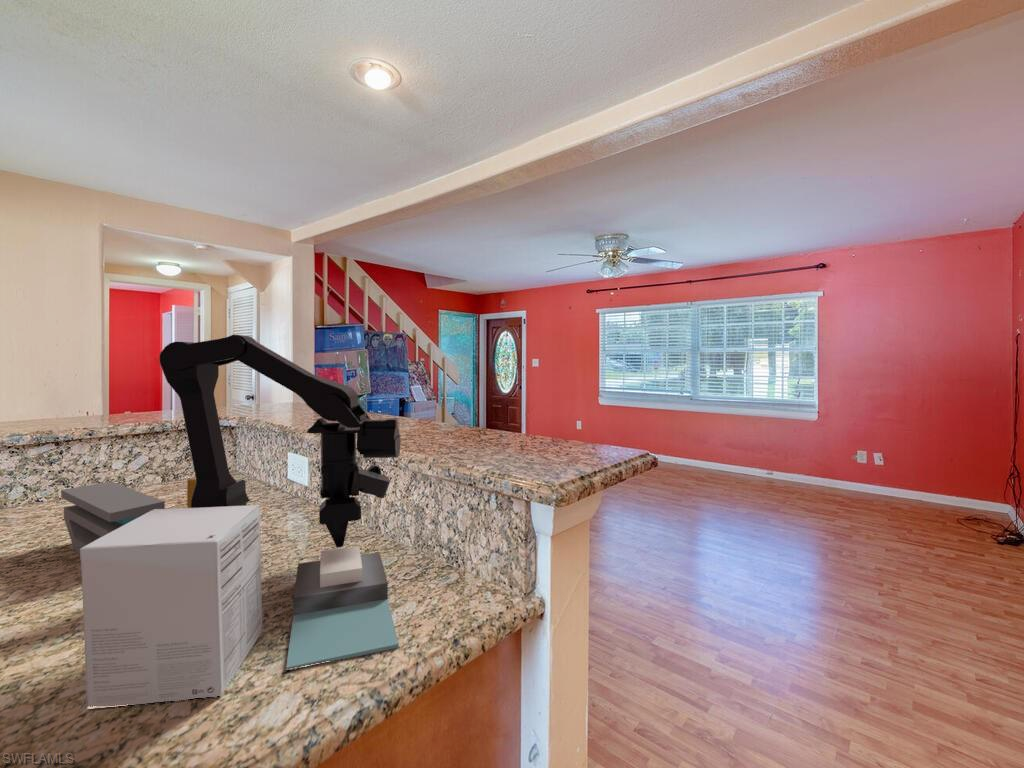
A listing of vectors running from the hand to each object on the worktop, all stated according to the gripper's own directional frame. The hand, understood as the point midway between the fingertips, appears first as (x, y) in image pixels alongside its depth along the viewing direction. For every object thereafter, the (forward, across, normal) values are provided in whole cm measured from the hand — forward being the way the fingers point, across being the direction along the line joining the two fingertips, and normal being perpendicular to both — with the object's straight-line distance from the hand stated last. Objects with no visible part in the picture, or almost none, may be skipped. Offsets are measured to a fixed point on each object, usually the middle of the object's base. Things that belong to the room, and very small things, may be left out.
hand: (339, 546), depth 82 cm
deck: (+4, -9, 0) cm, 9 cm away
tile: (0, -8, 0) cm, 8 cm away
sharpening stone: (+4, +23, +40) cm, 46 cm away
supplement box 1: (+4, -21, +18) cm, 28 cm away
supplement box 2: (+4, +36, +29) cm, 47 cm away
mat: (+4, -21, 0) cm, 21 cm away
